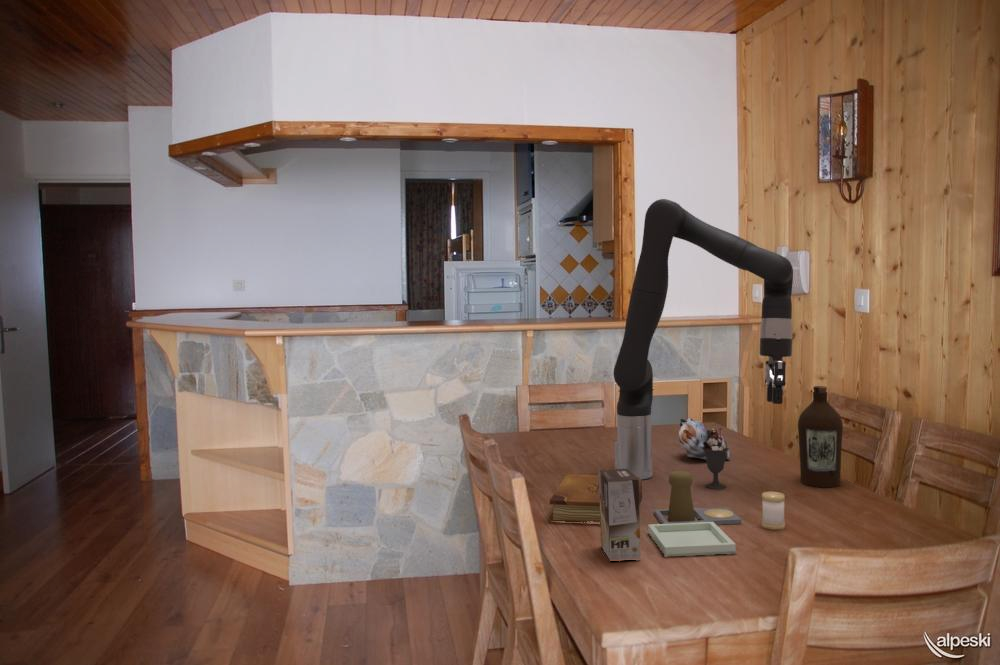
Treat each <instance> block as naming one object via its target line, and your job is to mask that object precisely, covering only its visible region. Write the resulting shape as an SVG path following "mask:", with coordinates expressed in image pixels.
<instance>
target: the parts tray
mask: <svg viewBox="0 0 1000 665" xmlns="http://www.w3.org/2000/svg"><path fill="white" fill-rule="evenodd" d="M647 528H648V530H647V531H648V533H649V534H650V535H649V534H648V535H649V537H650V536H651V537H652V538H651V537H650V538H651V539H653V540H654V541H655V542H654V541H653V540H652V541H653V542H654V544H655V543H656V544H657V545H656V544H655V545H656V547H657V546H658V547H659V548H660V549H659V548H658V547H657V548H658V549H659V551H660V550H661V551H662V552H661V551H660V552H661V554H662V553H663V554H664V555H665V556H686V557H696V556H695V555H706V556H716V555H715V554H727V555H736V554H737V544H736V543H735V542H734V541H733V540H732V539H731V538H730V537H729V536H728V535H727V534H726V533H725V532H724V531H723V530H722V529H721V528H720V527H719V525H716V524H715V523H714V522H693V523H672V524H661V523H654V524H653V523H652V524H648V525H647ZM663 554H662V555H663ZM664 555H663V556H664ZM693 555H694V556H693Z"/></svg>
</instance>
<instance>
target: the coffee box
mask: <svg viewBox="0 0 1000 665" xmlns="http://www.w3.org/2000/svg"><path fill="white" fill-rule="evenodd" d="M598 476H599V494H600V525H599V526H600V547H601V546H602V548H603V550H604V551H603V550H602V551H603V553H604V552H605V553H606V555H607V556H608V558H609V559H610V560H618V559H639V558H640V559H641V528H640V527H641V526H640V525H641V521H640V505H639V479H638V478H637V477H636V476H635V475H634V474H633V473H632V472H631V471H630V470H629V469H615V468H613V469H602V470H601V469H600V470H598ZM602 548H601V549H602ZM605 553H604V554H605ZM606 555H605V556H606ZM607 556H606V557H607ZM608 558H607V559H608Z"/></svg>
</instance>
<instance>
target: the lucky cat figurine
mask: <svg viewBox="0 0 1000 665" xmlns="http://www.w3.org/2000/svg"><path fill="white" fill-rule="evenodd" d="M679 426H680V427H679V428H680V429H679V431H678V436H679V437H678V441H679V444H680V445H681V446H682V447H683V449H684V450H685V451H686V457H687V458H688V457H689V458H694V459H695V458H696V459H699V460H700V459H701V460H704V461H706V455H705V451H704V450H703V449H702V447H703V446H704V445H703V443H704V442H705V441H706V442H707V441H708V440H709V439H710V438H711V437H713V435H716V434H717V437H720V434H721V433H719V432H718V430H717V429H716V428H715V427H713V428H711V429H707V427H706V426H705V425H704V422H702V421H700V420H693V418H692V417H689V418H687V420H686V419H683V418H680V423H679ZM721 437H722V438H723V440H722V441H723V442H724V443H725V444H726V447H727V448H728V446H727V445H728V443H727V441H726V439H725V438H724V437H723V436H722V434H721ZM730 457H731V452H730V451H729V449H728V450H727V451H726V455H725V461H726V460H728V459H730Z"/></svg>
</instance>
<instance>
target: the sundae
mask: <svg viewBox="0 0 1000 665" xmlns="http://www.w3.org/2000/svg"><path fill="white" fill-rule="evenodd" d="M721 430H723V429H722V428H721V427H719V429H718V430H717V433H719V434H720V437H717V434H716V435H713V437H711V438H710V439H709V440H708V441H707V442H706V441H705V442H704V443H703V445H704V446H703V447H702V449H703V450H704V451H705V455H706V460H705V461H706V466H707V469H708V470H709V471H710V472H711V473H712V475H713V478H712V482H711V483H707V484H706V485H705V487H706V488H708V489H711V488H712V489H711V490H722V488H723V489H726V486H727V485H725V484H723V483H720V481H719V474H720V473H721V472H722V471H723V470H724V468H725V463H726V462H725V461H726V460H725V455H726V451H727V450H728V451H729V447H728V446H727V447H726V444H727V443H726V444H725V443H724V442H723V441H722V440H723V438H724V437H723V438H722V437H721V435H722V434H721V433H720V432H721Z"/></svg>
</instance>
